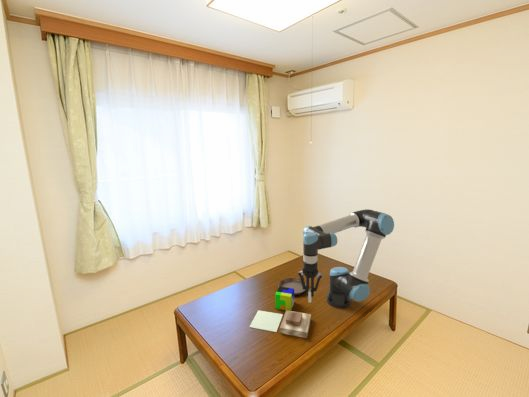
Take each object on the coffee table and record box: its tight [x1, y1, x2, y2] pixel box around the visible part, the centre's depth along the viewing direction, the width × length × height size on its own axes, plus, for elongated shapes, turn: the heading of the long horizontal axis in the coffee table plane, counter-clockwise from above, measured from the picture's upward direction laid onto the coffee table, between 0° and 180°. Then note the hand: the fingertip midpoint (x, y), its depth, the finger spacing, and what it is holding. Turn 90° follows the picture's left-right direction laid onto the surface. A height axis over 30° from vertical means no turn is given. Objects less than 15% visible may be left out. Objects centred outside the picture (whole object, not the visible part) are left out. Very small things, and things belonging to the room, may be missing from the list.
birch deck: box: [279, 310, 312, 339], centre depth 152 cm, size 15×16×4 cm
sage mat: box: [249, 309, 284, 333], centre depth 157 cm, size 16×16×1 cm
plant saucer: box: [278, 277, 306, 296], centre depth 191 cm, size 21×21×3 cm
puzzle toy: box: [274, 286, 295, 311], centre depth 171 cm, size 10×10×10 cm
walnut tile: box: [286, 311, 303, 326], centre depth 152 cm, size 8×8×2 cm
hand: (309, 301), depth 146 cm, fingers closed
